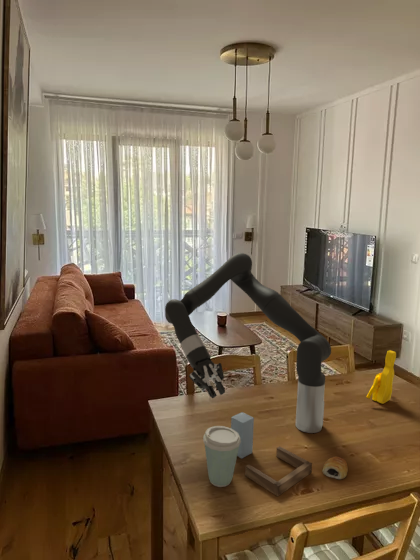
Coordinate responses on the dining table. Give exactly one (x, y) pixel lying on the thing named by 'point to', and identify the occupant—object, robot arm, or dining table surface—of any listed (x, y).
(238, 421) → the slate block
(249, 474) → the walnut bay
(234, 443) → the disposable coffee cup
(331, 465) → the pastry
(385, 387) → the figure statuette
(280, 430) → the dining table surface
